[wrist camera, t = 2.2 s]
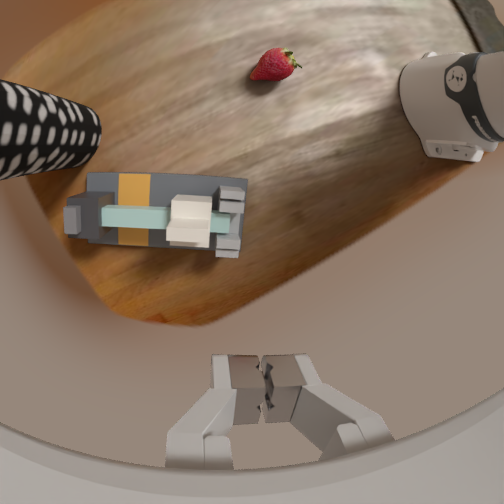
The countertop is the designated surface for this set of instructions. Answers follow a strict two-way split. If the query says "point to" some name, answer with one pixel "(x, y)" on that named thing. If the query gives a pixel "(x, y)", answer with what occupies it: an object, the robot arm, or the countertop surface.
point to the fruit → (275, 65)
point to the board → (157, 201)
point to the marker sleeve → (190, 221)
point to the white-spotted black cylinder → (43, 131)
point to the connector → (87, 214)
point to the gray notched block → (234, 205)
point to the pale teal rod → (154, 217)
